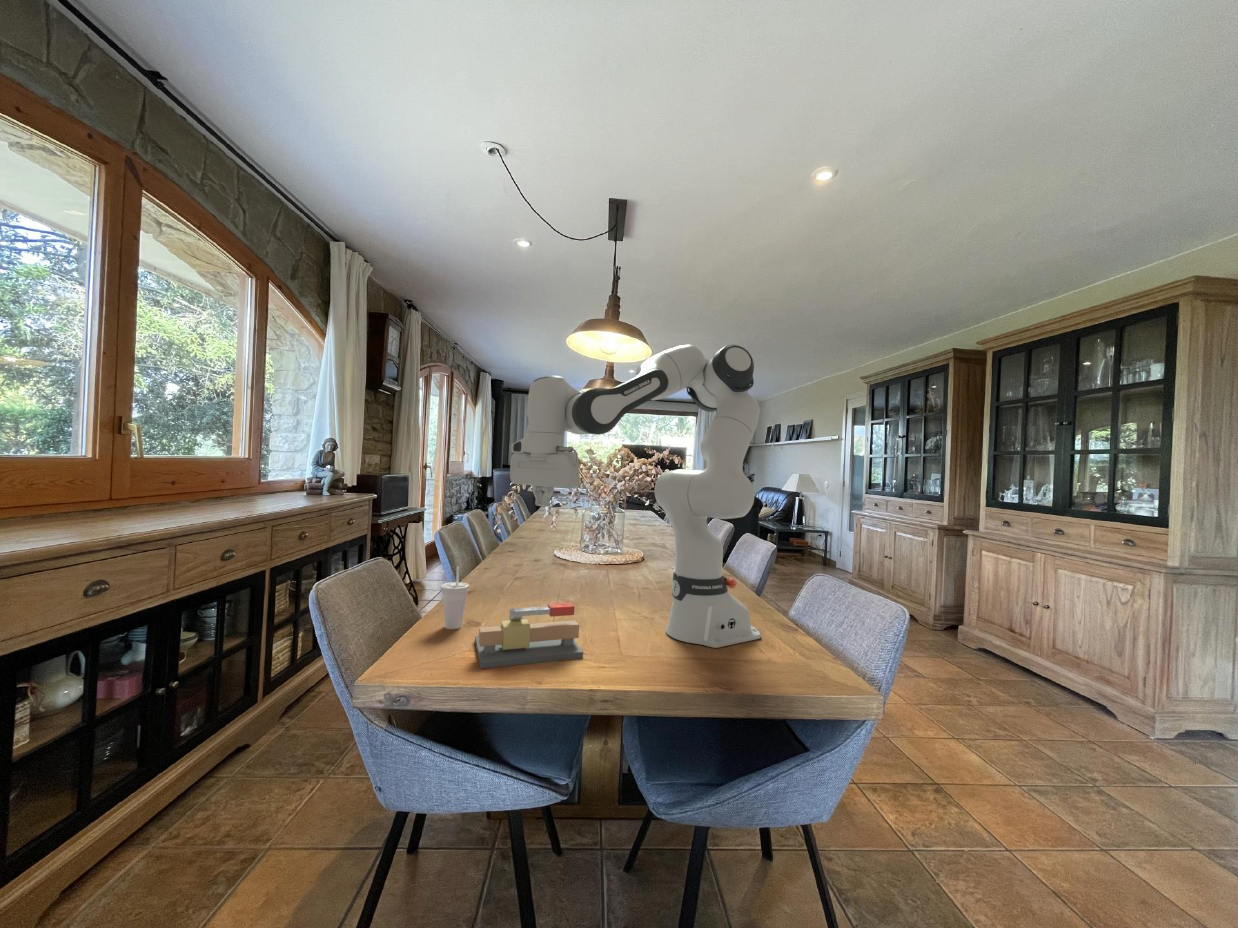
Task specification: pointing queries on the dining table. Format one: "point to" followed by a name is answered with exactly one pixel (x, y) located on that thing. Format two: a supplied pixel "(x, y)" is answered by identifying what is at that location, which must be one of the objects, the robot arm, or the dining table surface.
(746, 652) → the dining table surface
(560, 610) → the lever
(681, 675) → the dining table surface
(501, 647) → the board
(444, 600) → the smoothie
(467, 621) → the dining table surface
